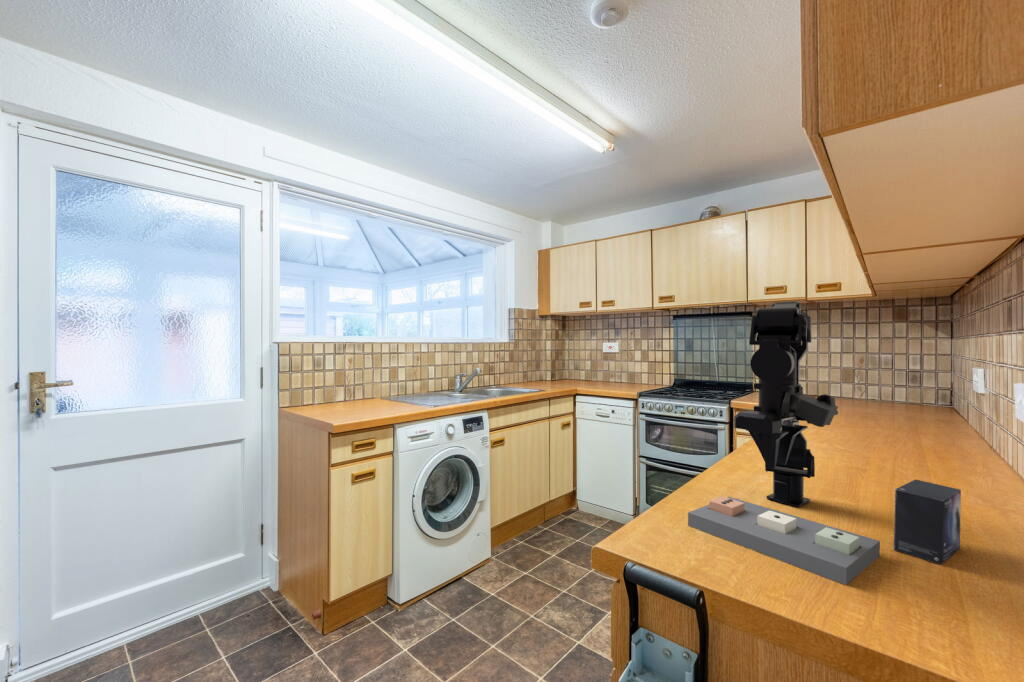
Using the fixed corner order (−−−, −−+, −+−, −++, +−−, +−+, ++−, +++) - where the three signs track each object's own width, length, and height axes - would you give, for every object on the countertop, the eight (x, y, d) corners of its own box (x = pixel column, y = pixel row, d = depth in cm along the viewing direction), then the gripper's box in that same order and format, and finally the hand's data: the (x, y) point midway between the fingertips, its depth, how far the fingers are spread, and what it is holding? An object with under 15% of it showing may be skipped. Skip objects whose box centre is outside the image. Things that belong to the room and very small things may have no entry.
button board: (729, 508, 92) (729, 496, 92) (879, 556, 72) (879, 540, 72) (688, 525, 83) (688, 512, 83) (846, 585, 63) (846, 567, 63)
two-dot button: (826, 542, 73) (826, 526, 73) (859, 552, 70) (859, 536, 70) (815, 549, 71) (815, 533, 71) (848, 560, 67) (848, 543, 67)
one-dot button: (769, 523, 81) (769, 509, 81) (796, 532, 77) (796, 517, 77) (757, 529, 78) (757, 515, 78) (784, 539, 74) (784, 523, 74)
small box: (945, 567, 68) (945, 500, 68) (892, 550, 74) (892, 488, 74) (963, 550, 74) (963, 488, 74) (912, 535, 79) (912, 478, 80)
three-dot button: (721, 508, 88) (721, 495, 88) (744, 515, 84) (744, 502, 84) (709, 513, 85) (709, 500, 85) (732, 521, 82) (732, 507, 82)
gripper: (806, 384, 66) (805, 488, 65) (851, 379, 76) (851, 468, 76) (732, 379, 75) (732, 470, 75) (782, 375, 85) (781, 455, 85)
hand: (776, 466), depth 77 cm, fingers open, 4 cm apart
